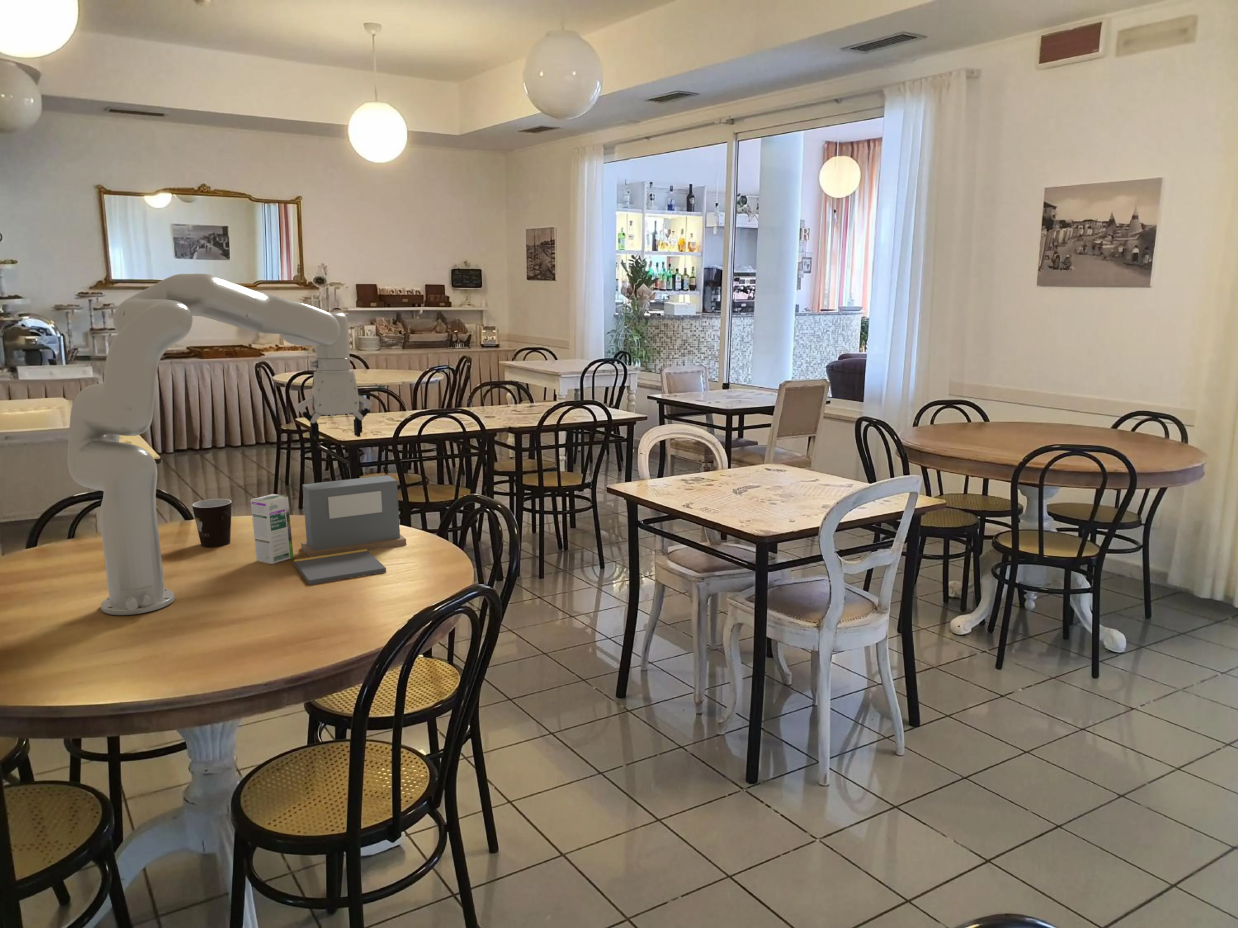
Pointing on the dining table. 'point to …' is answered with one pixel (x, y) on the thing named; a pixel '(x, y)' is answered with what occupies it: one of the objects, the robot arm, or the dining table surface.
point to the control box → (351, 516)
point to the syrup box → (272, 528)
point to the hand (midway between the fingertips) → (337, 437)
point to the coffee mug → (213, 522)
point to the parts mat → (338, 566)
